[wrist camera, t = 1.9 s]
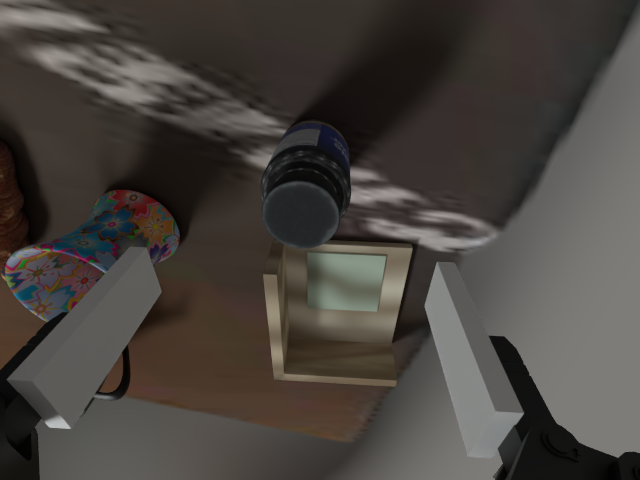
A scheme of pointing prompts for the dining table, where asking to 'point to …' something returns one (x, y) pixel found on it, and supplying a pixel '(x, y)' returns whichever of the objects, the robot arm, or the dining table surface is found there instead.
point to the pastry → (11, 208)
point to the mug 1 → (89, 252)
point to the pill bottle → (306, 185)
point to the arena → (335, 310)
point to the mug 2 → (121, 388)
